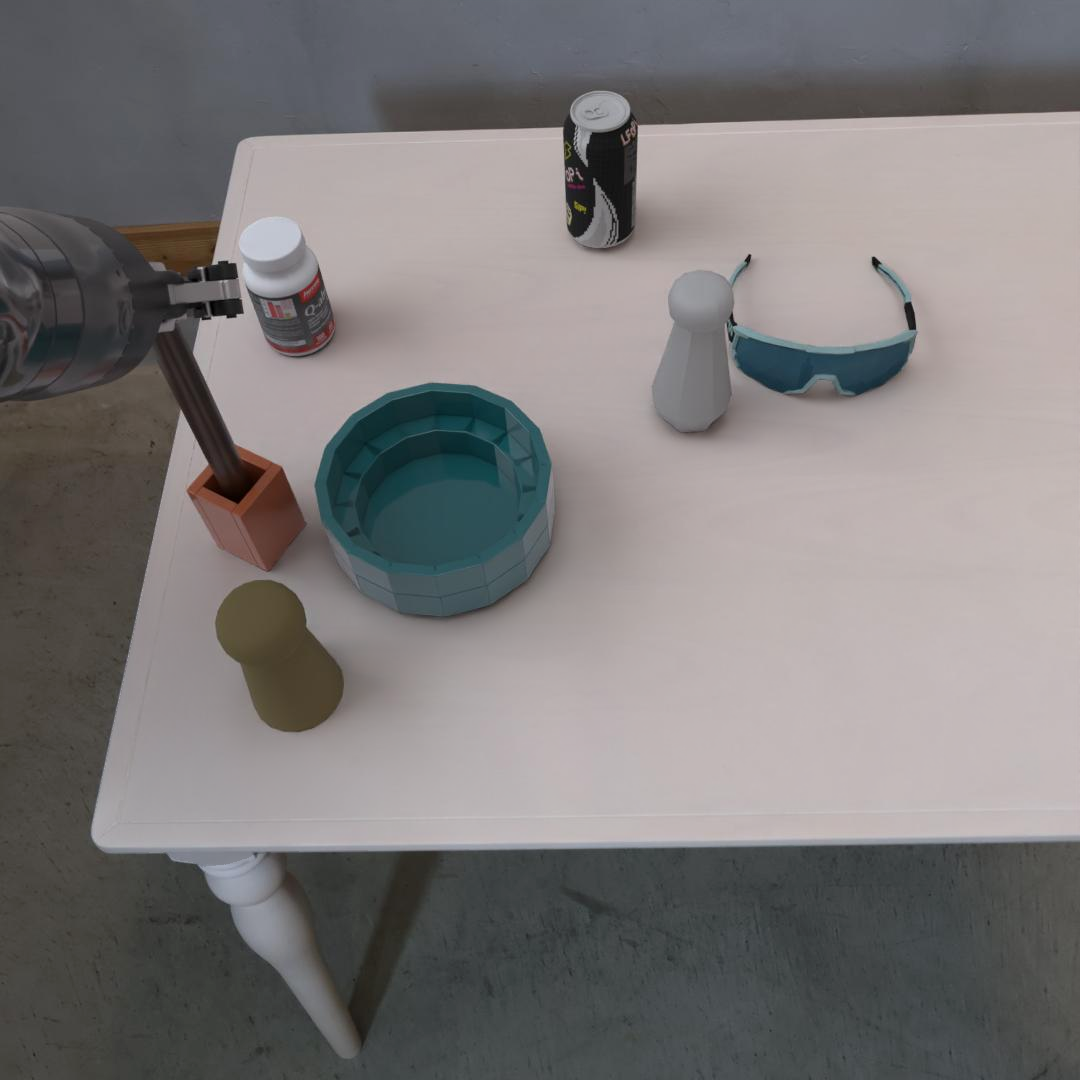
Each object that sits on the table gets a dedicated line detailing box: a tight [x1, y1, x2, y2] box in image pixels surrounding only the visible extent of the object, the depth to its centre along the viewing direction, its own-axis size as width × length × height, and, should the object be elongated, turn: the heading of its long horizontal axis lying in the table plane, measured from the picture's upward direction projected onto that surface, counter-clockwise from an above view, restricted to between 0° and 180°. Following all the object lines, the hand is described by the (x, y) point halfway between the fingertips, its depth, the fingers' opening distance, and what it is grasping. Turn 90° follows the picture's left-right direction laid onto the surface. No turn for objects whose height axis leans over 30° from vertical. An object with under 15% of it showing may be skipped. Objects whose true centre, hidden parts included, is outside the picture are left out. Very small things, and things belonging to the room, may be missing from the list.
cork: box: [214, 579, 345, 733], centre depth 69 cm, size 6×6×11 cm
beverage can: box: [562, 90, 639, 249], centre depth 90 cm, size 6×6×12 cm
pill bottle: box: [238, 215, 336, 357], centre depth 86 cm, size 6×6×10 cm
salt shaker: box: [651, 269, 735, 434], centre depth 79 cm, size 6×6×13 cm
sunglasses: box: [726, 253, 919, 397], centre depth 87 cm, size 14×15×5 cm
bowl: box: [313, 381, 556, 617], centre depth 77 cm, size 16×16×6 cm
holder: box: [185, 443, 307, 572], centre depth 77 cm, size 5×5×7 cm
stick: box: [150, 323, 253, 502], centre depth 67 cm, size 2×2×20 cm
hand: (162, 299), depth 63 cm, fingers closed on stick, 2 cm apart
